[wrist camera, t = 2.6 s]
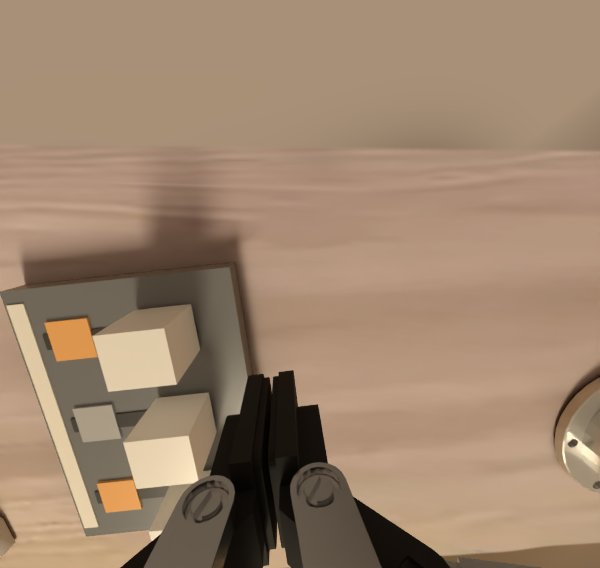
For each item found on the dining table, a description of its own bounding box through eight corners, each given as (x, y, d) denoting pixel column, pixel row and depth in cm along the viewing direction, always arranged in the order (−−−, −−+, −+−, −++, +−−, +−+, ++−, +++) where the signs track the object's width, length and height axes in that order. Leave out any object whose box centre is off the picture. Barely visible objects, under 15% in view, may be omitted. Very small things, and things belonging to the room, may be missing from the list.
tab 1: (191, 304, 21) (164, 328, 17) (200, 349, 22) (176, 384, 17) (134, 310, 21) (92, 336, 17) (145, 355, 22) (108, 391, 17)
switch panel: (234, 262, 23) (228, 267, 20) (271, 495, 28) (270, 519, 26) (24, 285, 23) (-4, 292, 21) (100, 513, 28) (84, 538, 26)
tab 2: (208, 392, 23) (188, 435, 18) (216, 432, 23) (199, 482, 19) (156, 397, 23) (123, 442, 18) (165, 437, 23) (136, 489, 19)
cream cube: (224, 468, 24) (208, 525, 20) (230, 503, 25) (217, 564, 21) (174, 473, 24) (148, 531, 20) (183, 508, 25) (160, 570, 21)
